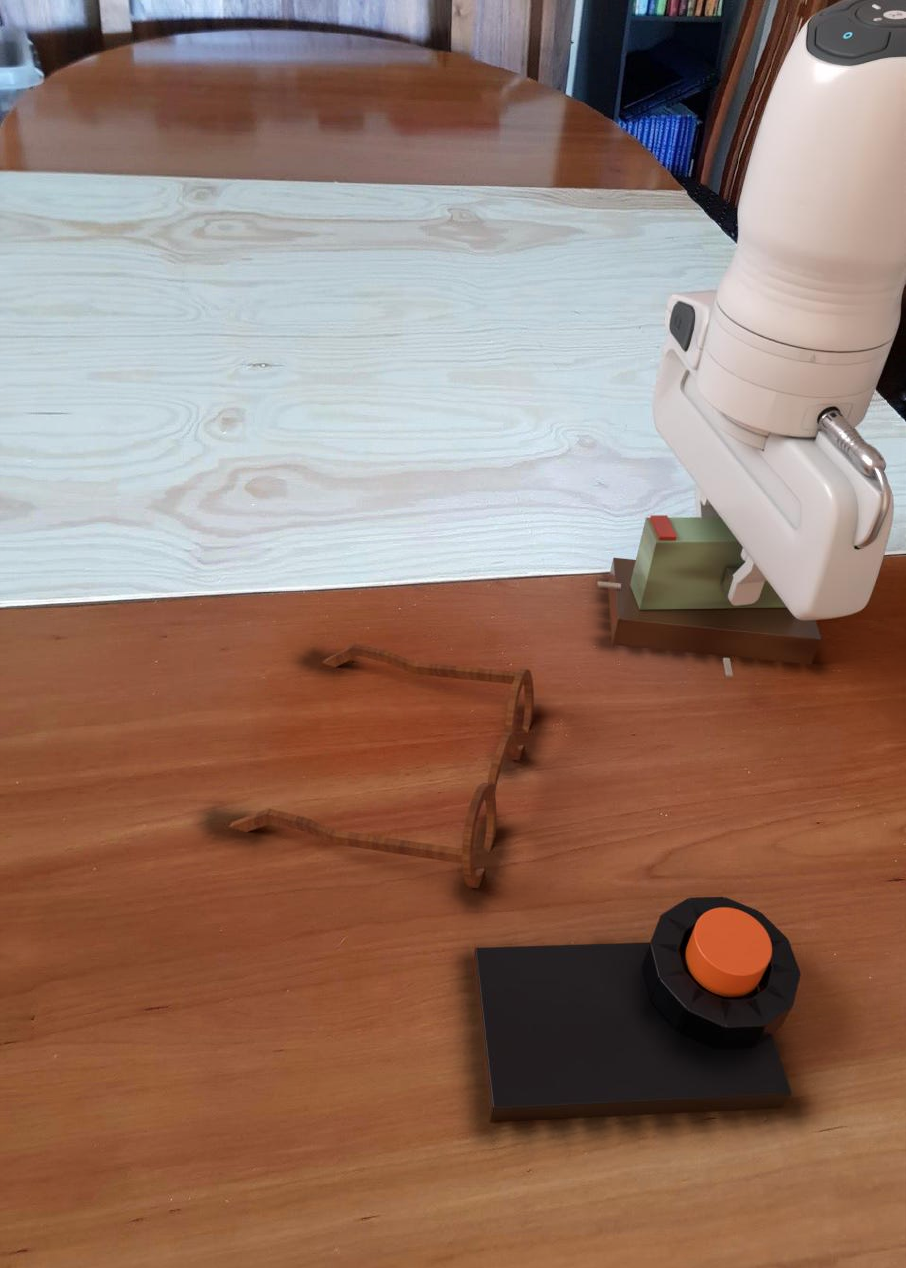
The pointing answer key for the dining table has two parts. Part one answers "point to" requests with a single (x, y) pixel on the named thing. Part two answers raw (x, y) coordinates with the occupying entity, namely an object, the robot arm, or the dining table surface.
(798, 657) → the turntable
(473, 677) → the glasses
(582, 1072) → the control block
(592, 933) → the dining table surface
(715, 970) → the button
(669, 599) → the green battery pack
